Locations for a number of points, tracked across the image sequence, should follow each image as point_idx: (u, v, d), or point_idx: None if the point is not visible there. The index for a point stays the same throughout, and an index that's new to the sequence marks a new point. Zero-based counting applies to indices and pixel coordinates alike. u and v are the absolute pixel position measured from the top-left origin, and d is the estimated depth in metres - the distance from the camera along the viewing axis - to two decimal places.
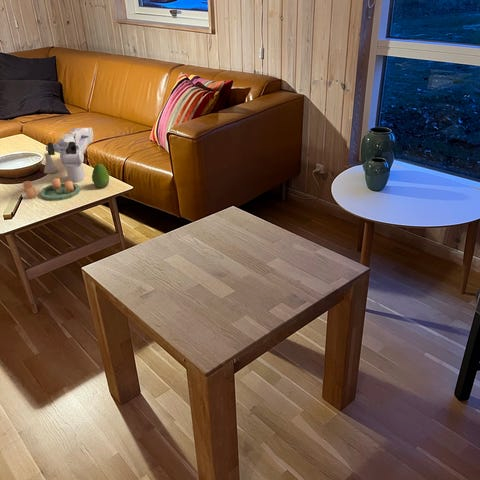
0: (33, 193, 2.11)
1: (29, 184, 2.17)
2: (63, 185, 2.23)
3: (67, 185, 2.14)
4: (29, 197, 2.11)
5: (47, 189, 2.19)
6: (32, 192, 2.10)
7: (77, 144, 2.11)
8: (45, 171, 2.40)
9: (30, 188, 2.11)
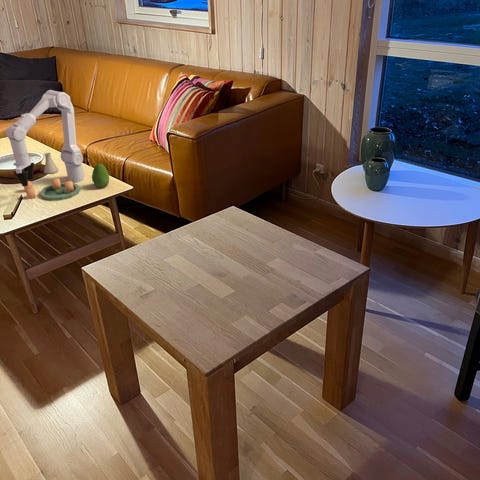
0: (33, 193, 2.11)
1: (29, 184, 2.17)
2: (63, 185, 2.23)
3: (67, 185, 2.14)
4: (29, 197, 2.11)
5: (47, 189, 2.19)
6: (32, 192, 2.10)
7: (15, 169, 1.99)
8: (45, 171, 2.40)
9: (30, 188, 2.11)
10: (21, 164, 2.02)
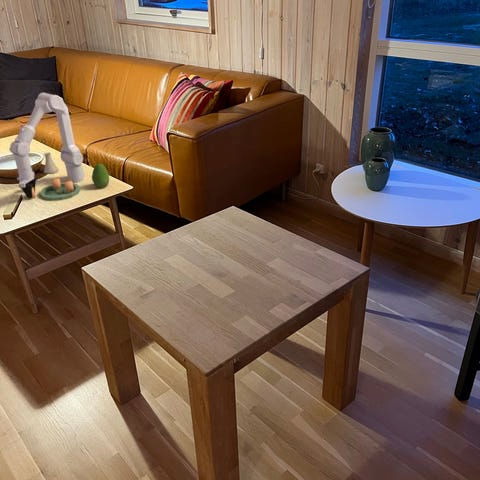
0: (33, 193, 2.11)
1: None
2: (63, 185, 2.23)
3: (67, 185, 2.14)
4: None
5: (47, 189, 2.19)
6: (32, 192, 2.10)
7: (19, 183, 2.02)
8: (45, 171, 2.40)
9: None
10: (25, 178, 2.05)
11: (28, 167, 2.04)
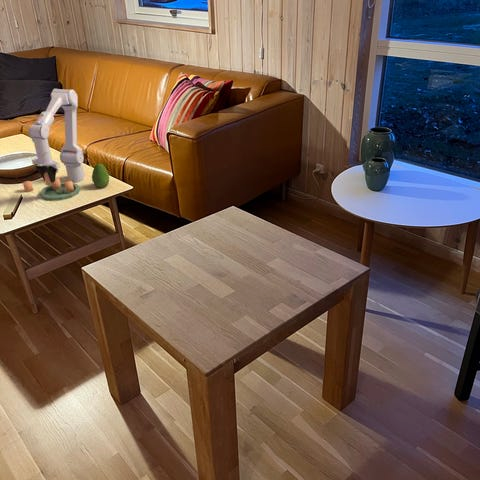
0: None
1: (29, 184, 2.17)
2: (63, 185, 2.23)
3: (67, 185, 2.14)
4: None
5: (47, 189, 2.19)
6: None
7: (54, 165, 2.02)
8: None
9: (47, 173, 2.08)
10: (50, 161, 2.04)
11: (49, 150, 2.02)
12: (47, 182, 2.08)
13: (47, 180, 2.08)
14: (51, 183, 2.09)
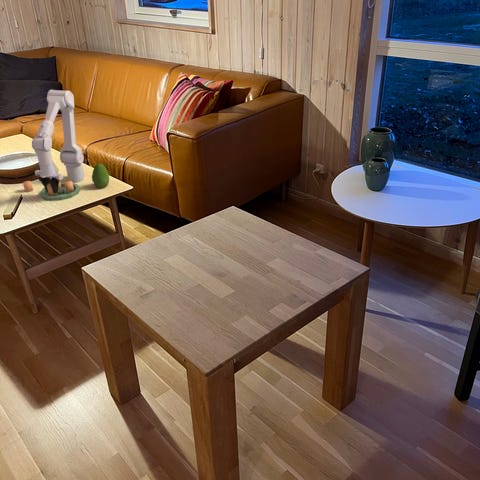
0: None
1: (29, 184, 2.17)
2: (63, 185, 2.23)
3: (67, 185, 2.14)
4: None
5: None
6: None
7: (57, 176, 2.05)
8: None
9: None
10: (53, 172, 2.07)
11: (51, 162, 2.05)
12: (50, 193, 2.11)
13: (50, 191, 2.10)
14: (54, 194, 2.11)
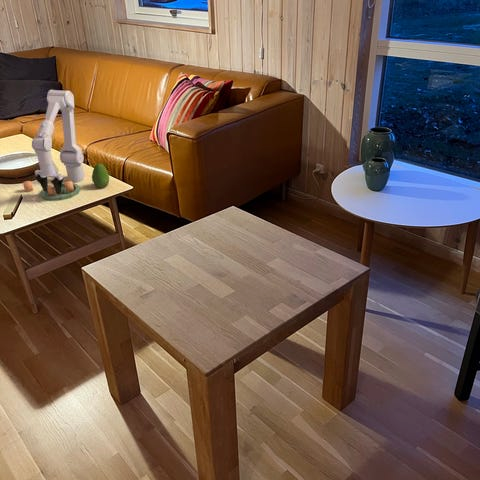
0: None
1: (29, 184, 2.17)
2: (63, 185, 2.23)
3: (67, 185, 2.14)
4: (55, 194, 2.12)
5: None
6: None
7: (57, 176, 2.05)
8: None
9: (50, 185, 2.11)
10: (53, 172, 2.07)
11: (51, 162, 2.05)
12: (50, 195, 2.11)
13: (50, 193, 2.11)
14: (54, 195, 2.12)
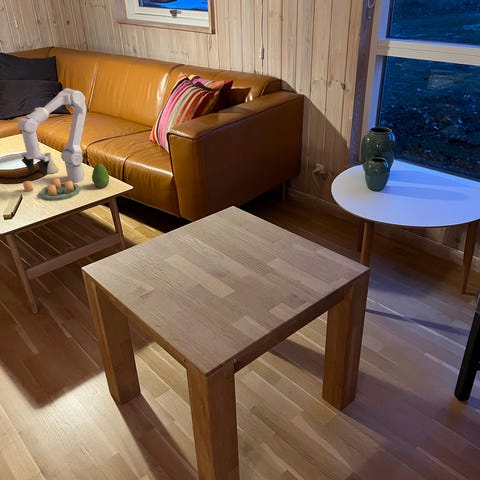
0: None
1: (29, 184, 2.17)
2: (63, 185, 2.23)
3: (67, 185, 2.14)
4: (55, 194, 2.12)
5: (47, 189, 2.19)
6: (55, 188, 2.12)
7: (43, 157, 2.07)
8: None
9: (50, 185, 2.11)
10: (39, 154, 2.09)
11: (35, 144, 2.06)
12: (50, 195, 2.11)
13: (50, 193, 2.11)
14: (54, 195, 2.12)
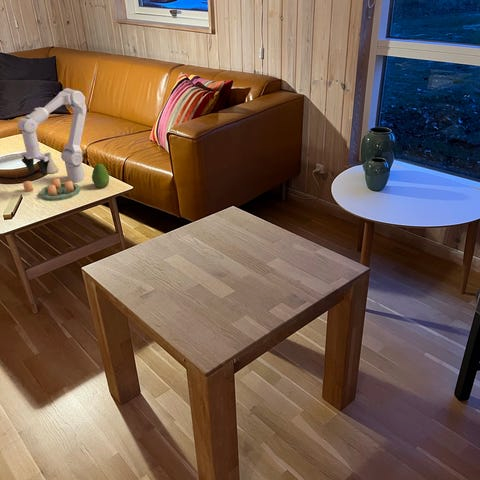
0: None
1: (29, 184, 2.17)
2: (63, 185, 2.23)
3: (67, 185, 2.14)
4: (55, 194, 2.12)
5: (47, 189, 2.19)
6: (55, 188, 2.12)
7: (43, 157, 2.07)
8: None
9: (50, 185, 2.11)
10: (39, 154, 2.09)
11: (35, 144, 2.06)
12: (50, 195, 2.11)
13: (50, 193, 2.11)
14: (54, 195, 2.12)
